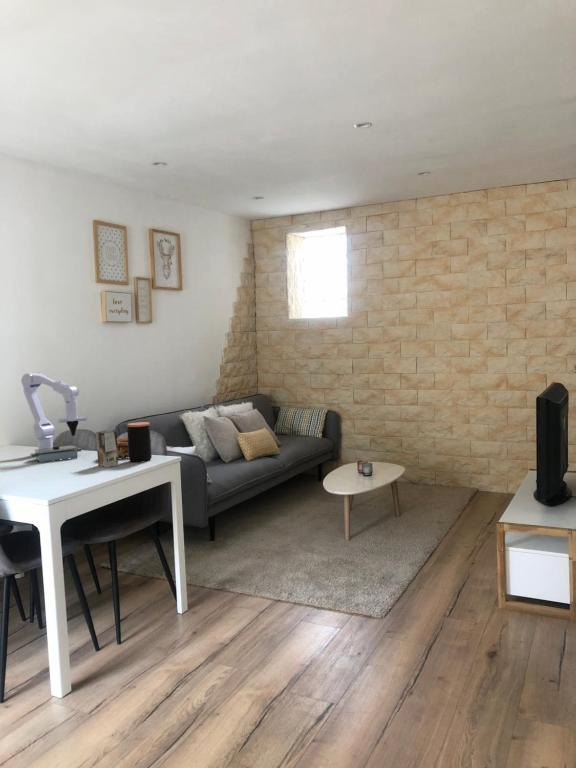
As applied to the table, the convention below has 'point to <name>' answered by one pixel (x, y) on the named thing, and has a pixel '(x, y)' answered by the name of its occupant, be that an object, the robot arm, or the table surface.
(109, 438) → the coffee box
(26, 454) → the table surface
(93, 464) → the table surface
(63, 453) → the grey slotted box
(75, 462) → the table surface
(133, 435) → the coffee jar
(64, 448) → the cabinet door
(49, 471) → the table surface
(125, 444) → the bread
